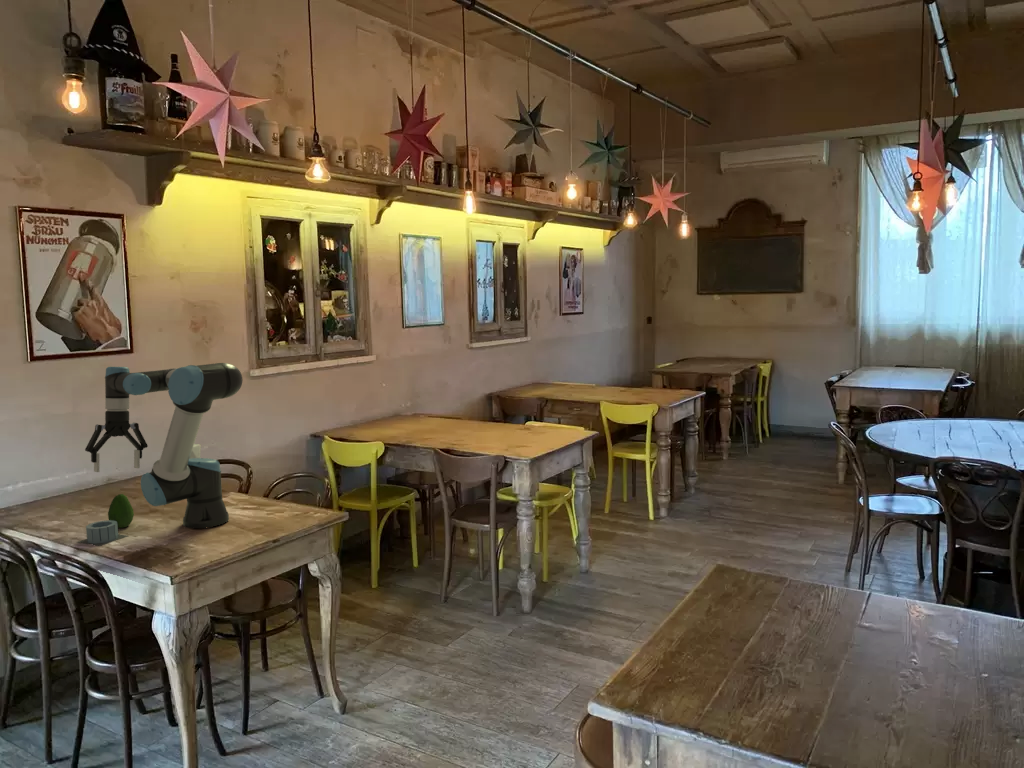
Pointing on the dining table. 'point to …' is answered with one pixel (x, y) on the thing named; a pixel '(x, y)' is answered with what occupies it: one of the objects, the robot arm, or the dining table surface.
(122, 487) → the dining table surface
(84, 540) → the placemat
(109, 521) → the bowl
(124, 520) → the avocado
